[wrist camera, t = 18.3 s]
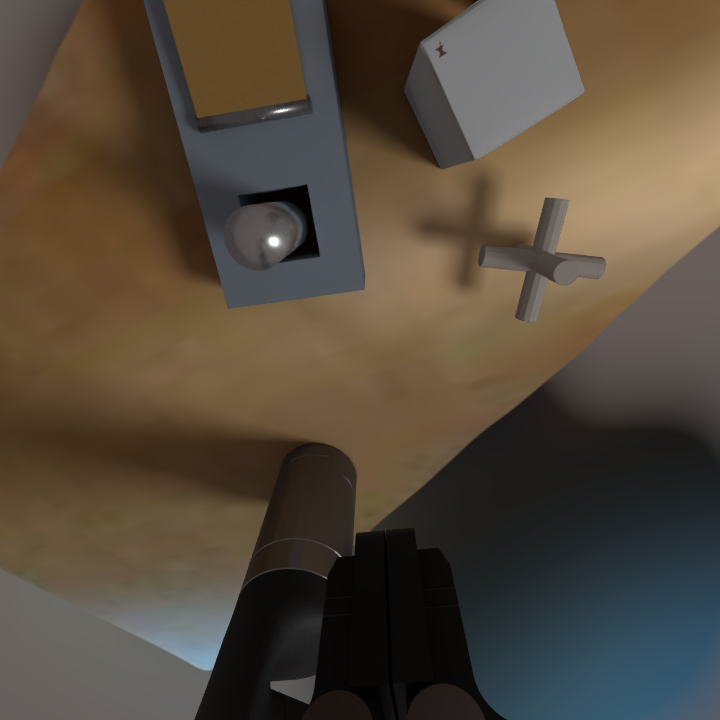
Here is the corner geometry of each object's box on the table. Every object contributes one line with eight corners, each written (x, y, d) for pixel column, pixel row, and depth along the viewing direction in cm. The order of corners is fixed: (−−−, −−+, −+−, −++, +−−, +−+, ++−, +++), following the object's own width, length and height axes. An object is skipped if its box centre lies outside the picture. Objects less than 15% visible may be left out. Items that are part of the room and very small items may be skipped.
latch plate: (313, 113, 31) (312, 113, 30) (204, 133, 31) (198, 133, 30) (290, -21, 27) (287, -27, 26) (166, 4, 28) (159, -1, 27)
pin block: (365, 275, 41) (364, 289, 35) (247, 292, 42) (228, 308, 36) (325, -2, 33) (316, -41, 27) (179, 27, 34) (141, -5, 28)
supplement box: (440, 172, 37) (471, 165, 26) (401, 88, 35) (415, 38, 23) (518, 124, 36) (589, 93, 24) (482, 33, 33) (542, -50, 22)
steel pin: (318, 240, 40) (292, 265, 27) (277, 246, 40) (233, 274, 27) (310, 196, 38) (279, 200, 25) (268, 203, 39) (216, 210, 26)
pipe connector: (459, 298, 42) (483, 330, 32) (480, 191, 38) (515, 192, 29) (558, 309, 42) (611, 343, 32) (589, 203, 38) (659, 208, 29)
